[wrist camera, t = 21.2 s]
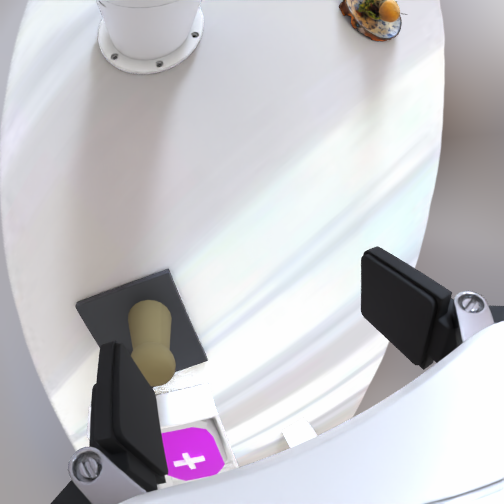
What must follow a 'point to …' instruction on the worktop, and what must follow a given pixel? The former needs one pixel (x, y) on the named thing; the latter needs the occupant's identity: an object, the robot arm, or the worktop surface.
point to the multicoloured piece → (374, 17)
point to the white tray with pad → (191, 436)
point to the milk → (299, 433)
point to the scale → (118, 307)
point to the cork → (152, 341)
